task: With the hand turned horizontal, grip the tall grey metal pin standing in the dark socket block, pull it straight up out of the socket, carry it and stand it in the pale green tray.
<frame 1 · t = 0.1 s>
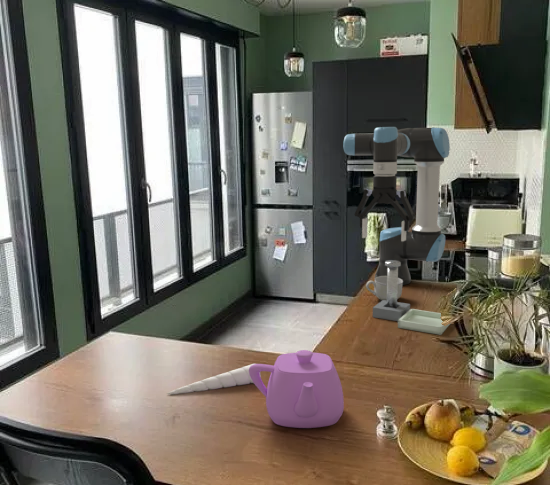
hand: (383, 239, 182), 28 cm above the worktop, tool pointing down, fingers open, 13 cm apart
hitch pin: (392, 288, 188), in the socket block
unicorn horn: (218, 389, 137), on the worktop
socket block: (391, 315, 190), on the worktop
tray: (425, 324, 180), on the worktop
teacup: (383, 299, 209), on the worktop
teapot: (305, 417, 122), on the worktop
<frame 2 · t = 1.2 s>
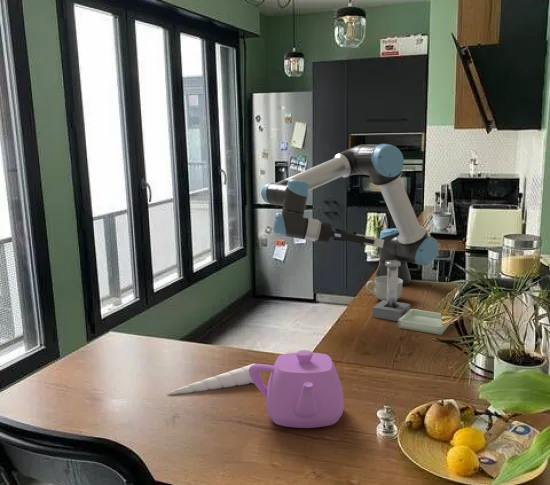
hand: (378, 242, 187), 26 cm above the worktop, tool horizontal, fingers open, 13 cm apart
nothing on the worktop moved.
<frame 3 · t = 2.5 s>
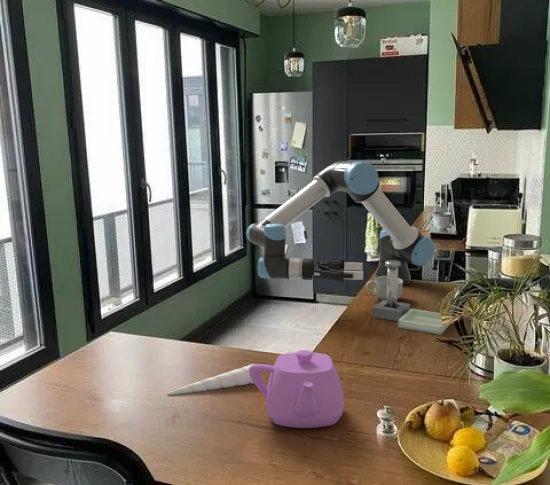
hand: (363, 271, 188), 16 cm above the worktop, tool horizontal, fingers open, 13 cm apart
nothing on the worktop moved.
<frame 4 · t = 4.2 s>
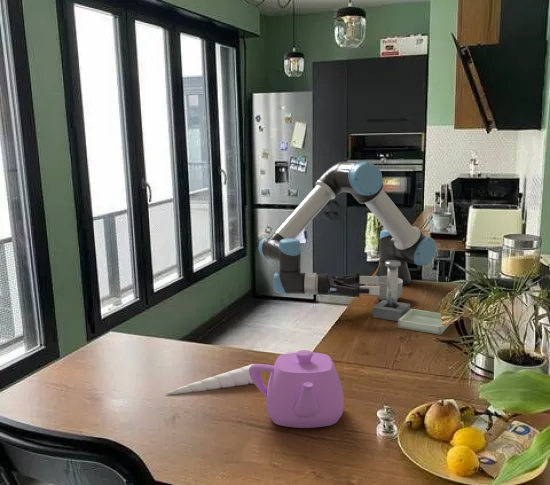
hand: (378, 285, 188), 11 cm above the worktop, tool horizontal, fingers open, 13 cm apart
nothing on the worktop moved.
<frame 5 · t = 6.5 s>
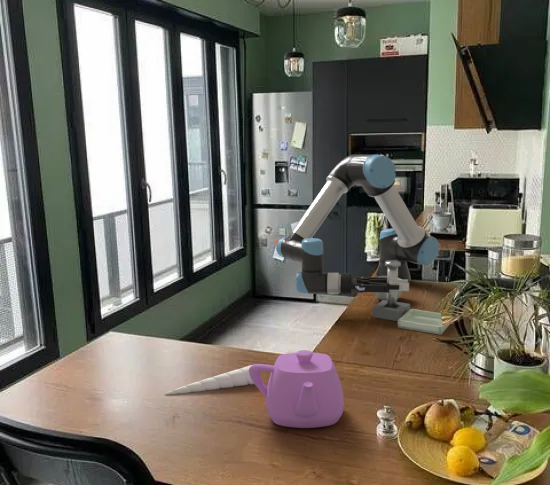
hand: (408, 285, 187), 11 cm above the worktop, tool horizontal, fingers closed on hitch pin, 4 cm apart
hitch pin: (392, 288, 188), in the socket block, touching gripper
everything else where it was.
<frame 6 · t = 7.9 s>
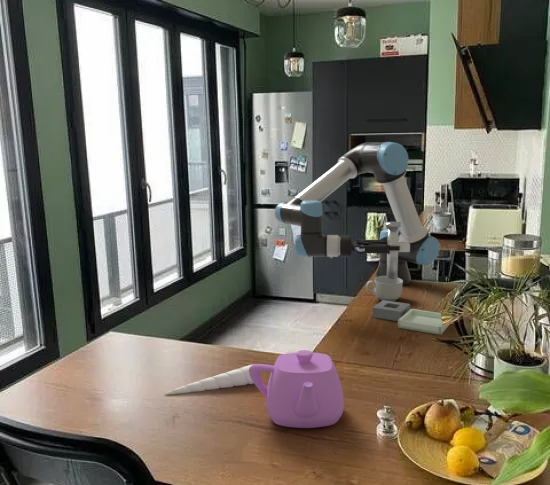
hand: (408, 246, 185), 25 cm above the worktop, tool horizontal, fingers closed on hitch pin, 4 cm apart
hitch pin: (392, 250, 186), point 23 cm above the worktop, touching gripper
everything else where it was.
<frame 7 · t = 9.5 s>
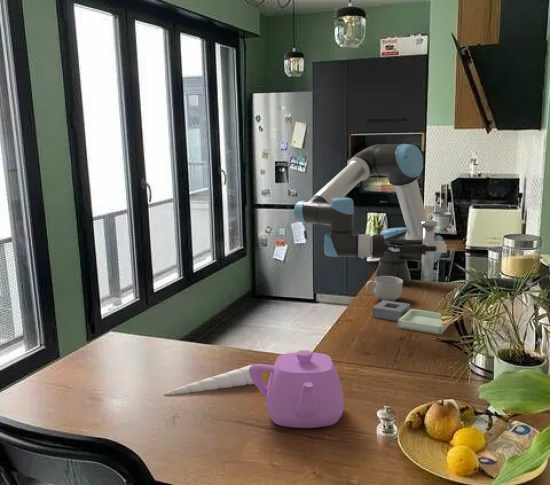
hand: (445, 247, 174), 26 cm above the worktop, tool horizontal, fingers closed on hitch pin, 4 cm apart
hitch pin: (427, 251, 175), point 25 cm above the worktop, touching gripper
everything else where it was.
when the fingers open (13 cm above the worktop, at t = 12.0 s): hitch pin drops 1 cm, resting on tray.
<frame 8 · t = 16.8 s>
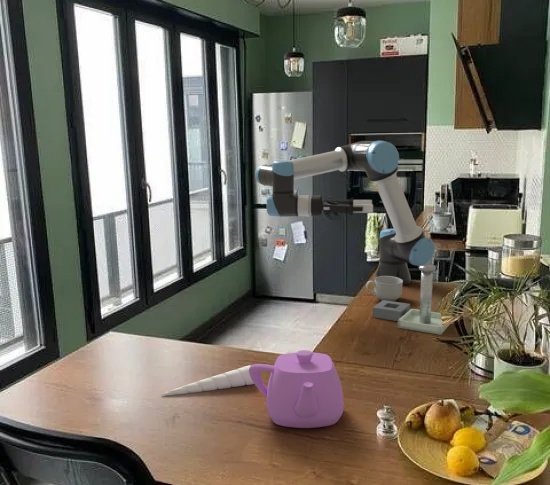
hand: (372, 206, 187), 38 cm above the worktop, tool horizontal, fingers open, 13 cm apart
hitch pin: (426, 294, 178), in the tray, point 10 cm above the worktop
at the end: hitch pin inside the target area on the tray (0.1 cm from its centre), point 10.4 cm above the tray's base; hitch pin tilted 0°; the gripper is holding nothing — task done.
